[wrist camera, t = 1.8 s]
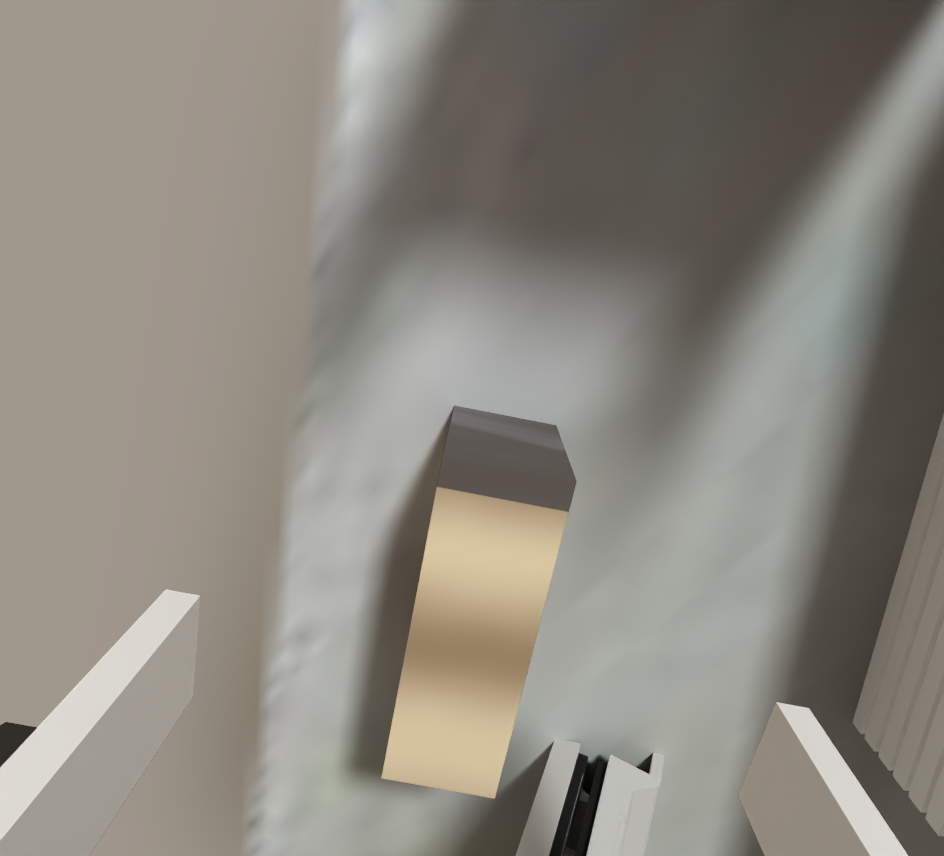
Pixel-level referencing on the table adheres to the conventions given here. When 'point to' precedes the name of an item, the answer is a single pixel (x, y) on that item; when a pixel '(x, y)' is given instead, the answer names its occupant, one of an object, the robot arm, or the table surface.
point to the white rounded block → (591, 807)
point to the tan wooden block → (478, 600)
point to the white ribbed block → (913, 658)
